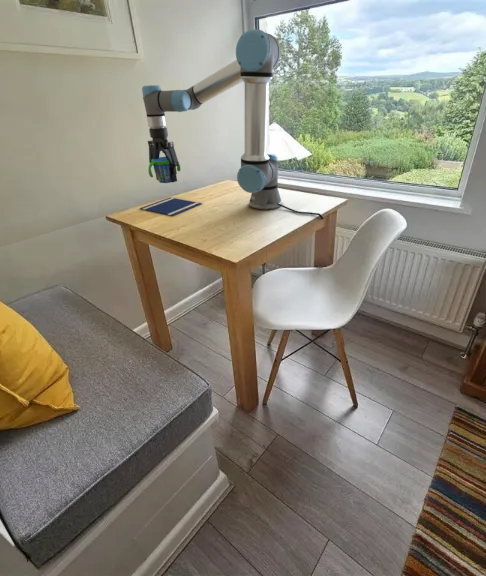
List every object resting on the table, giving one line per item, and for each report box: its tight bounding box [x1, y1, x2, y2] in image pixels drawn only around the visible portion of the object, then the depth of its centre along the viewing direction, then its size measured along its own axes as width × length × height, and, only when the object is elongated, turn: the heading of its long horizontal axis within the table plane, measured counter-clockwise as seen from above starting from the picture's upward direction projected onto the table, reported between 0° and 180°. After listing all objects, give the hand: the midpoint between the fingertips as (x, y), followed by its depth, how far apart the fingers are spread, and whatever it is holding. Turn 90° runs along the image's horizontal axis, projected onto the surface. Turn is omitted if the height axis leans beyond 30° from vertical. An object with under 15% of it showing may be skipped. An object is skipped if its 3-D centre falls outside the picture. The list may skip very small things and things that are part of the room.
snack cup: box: [148, 156, 181, 184], centre depth 149 cm, size 16×10×10 cm
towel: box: [139, 197, 203, 217], centre depth 158 cm, size 22×20×1 cm
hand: (166, 180), depth 151 cm, fingers closed on snack cup, 9 cm apart
